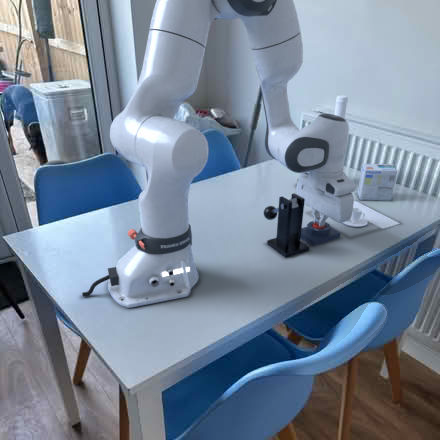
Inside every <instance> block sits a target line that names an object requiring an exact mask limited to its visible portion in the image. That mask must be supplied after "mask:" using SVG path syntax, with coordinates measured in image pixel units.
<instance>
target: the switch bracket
mask: <svg viewBox="0 0 440 440" xmlns="http://www.w3.org/2000/svg"><path fill="white" fill-rule="evenodd" d="M295 193H296V192H294V193H291V199H294V198H297V202H298V205H299V207H297V208H294V209H292V202H291V201H290V199H288V198H286V197H284V196H279V197H278V198H279V199H278V207H279V210H278V214H277V226H276V237H275V238H270V239H267V240H266V245H267V246H269V247H270V248H271V249H273V250H274V251H276V252H277V253H278V254H280V256H282V257H283V258H284V259H287V258H291V257H293V256H296V255H300V254H303V253H305V252H306V253H307V252H309V251H310V246H309V245H307V244H306V242H303V241H302V239H301V230H302V228H303V220H304V211H305V204H304V202H305V199H304V198H302V197H300V196H299V195H297V194H295Z"/></svg>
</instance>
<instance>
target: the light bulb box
mask: <svg viewBox="0 0 440 440" xmlns="http://www.w3.org/2000/svg"><path fill="white" fill-rule="evenodd" d="M397 175H398V169H397V167H396V166H395V164H393V163H362V164H361V169H360V176H359V181H358V188H357V196H358V198H359V200H360V201H386V202H388V201H389V202H390V201H392V197H393V194H394V193H393V192H394V188H395V184H396V180H397V177H398V176H397Z"/></svg>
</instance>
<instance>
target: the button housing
mask: <svg viewBox="0 0 440 440" xmlns="http://www.w3.org/2000/svg"><path fill="white" fill-rule="evenodd" d="M313 223H314V220H312V221H309V222H308V223H307V224H306V226H305V227H302V230H301V239H300V240H303V241H304V242H305V243H307V244H309V245H310V246H312V247H314V246H317V245H321V244H324V243H328V242H330V241H331V242H332V241H334V240H338V239H340V238H341V232H340V231H339V230H337V229H335V228H333V227H332V226H331V224H330V223H329V222H327V221H325V228H323V229H316V228H314V227H312V226H313Z"/></svg>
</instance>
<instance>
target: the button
mask: <svg viewBox="0 0 440 440" xmlns="http://www.w3.org/2000/svg"><path fill="white" fill-rule="evenodd" d="M312 227H314V228H316V229H323V228H325V225H324V226H322V227H320V226H319V225H317V224H315V223H313V226H312Z"/></svg>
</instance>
